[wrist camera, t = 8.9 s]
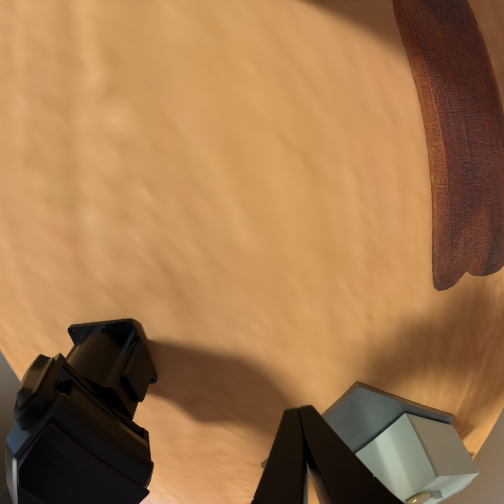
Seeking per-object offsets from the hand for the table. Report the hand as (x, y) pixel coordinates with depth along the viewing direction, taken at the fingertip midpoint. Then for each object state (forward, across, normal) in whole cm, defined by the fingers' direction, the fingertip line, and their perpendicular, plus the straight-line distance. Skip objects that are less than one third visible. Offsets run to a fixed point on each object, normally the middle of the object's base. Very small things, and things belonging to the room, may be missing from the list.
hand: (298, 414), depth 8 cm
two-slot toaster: (+13, -12, +29) cm, 34 cm away
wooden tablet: (+14, -17, -8) cm, 23 cm away
